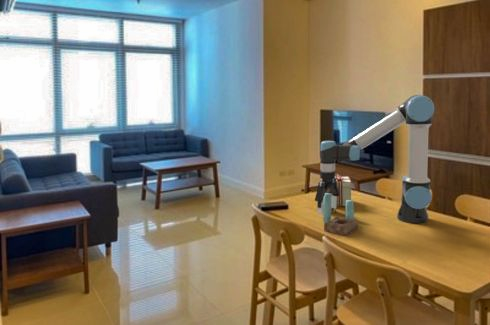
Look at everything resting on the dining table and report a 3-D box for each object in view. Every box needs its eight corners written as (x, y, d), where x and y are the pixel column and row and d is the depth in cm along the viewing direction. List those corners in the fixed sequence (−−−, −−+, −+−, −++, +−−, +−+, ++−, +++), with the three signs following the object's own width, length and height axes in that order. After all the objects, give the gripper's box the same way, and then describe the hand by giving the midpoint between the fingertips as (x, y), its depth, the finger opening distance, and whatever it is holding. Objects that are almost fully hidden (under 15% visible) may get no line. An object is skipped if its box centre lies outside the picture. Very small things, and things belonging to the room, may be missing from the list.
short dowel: (355, 223, 215) (355, 210, 214) (351, 225, 212) (351, 212, 211) (348, 222, 218) (348, 209, 216) (344, 224, 215) (344, 210, 213)
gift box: (318, 200, 262) (318, 173, 259) (347, 199, 261) (348, 172, 258) (322, 207, 245) (322, 179, 242) (353, 207, 244) (354, 178, 241)
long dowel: (332, 221, 219) (332, 193, 217) (328, 223, 216) (328, 195, 214) (325, 220, 222) (326, 192, 219) (321, 221, 219) (322, 194, 216)
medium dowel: (354, 218, 223) (354, 200, 221) (351, 220, 220) (351, 202, 218) (347, 217, 225) (348, 199, 224) (344, 219, 222) (344, 201, 221)
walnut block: (357, 229, 206) (358, 221, 206) (346, 235, 198) (346, 227, 197) (336, 224, 214) (336, 216, 214) (324, 230, 206) (324, 222, 205)
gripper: (333, 166, 226) (333, 204, 230) (308, 174, 208) (307, 215, 211) (346, 168, 221) (345, 206, 225) (321, 175, 203) (320, 217, 206)
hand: (327, 210), depth 218 cm, fingers open, 13 cm apart
